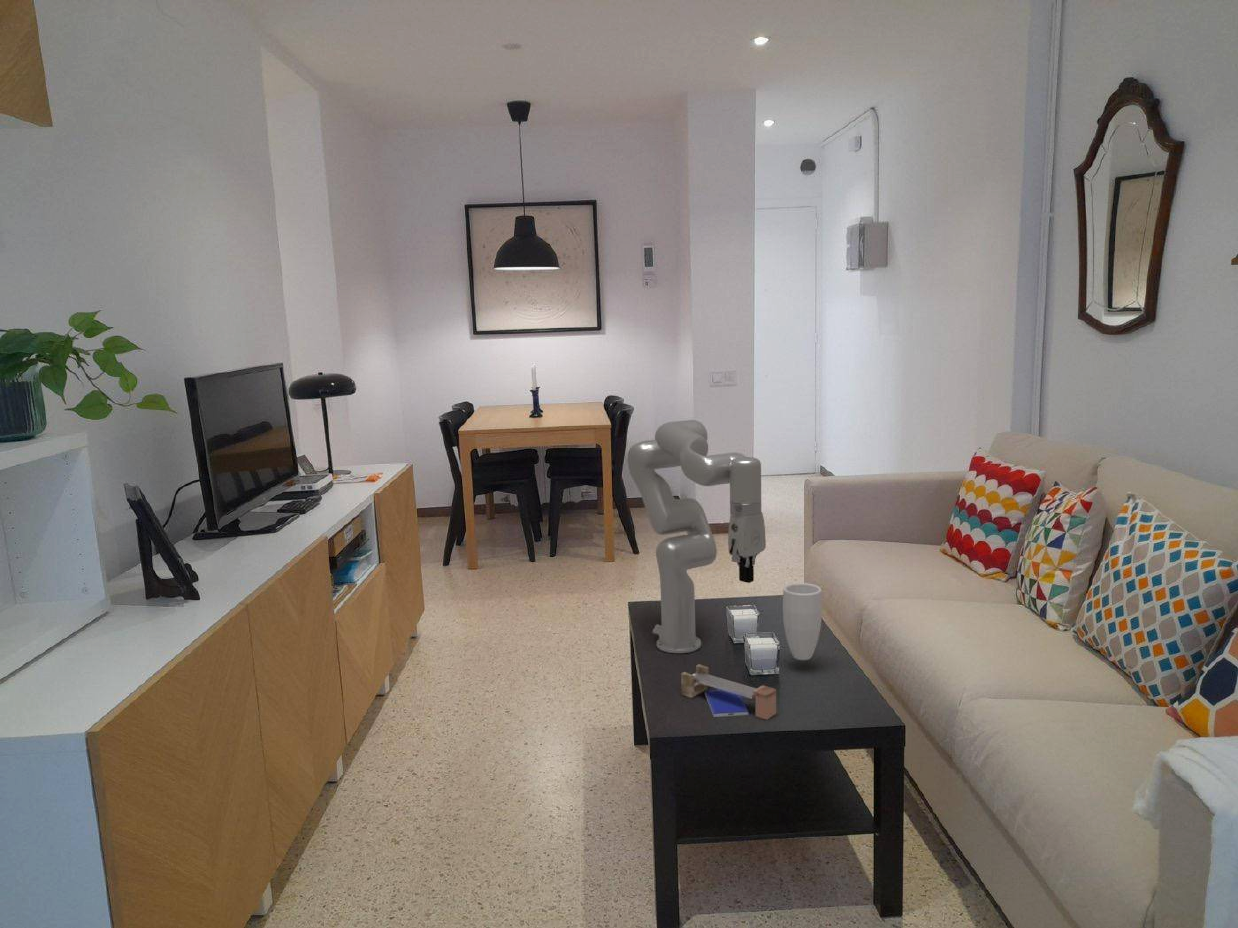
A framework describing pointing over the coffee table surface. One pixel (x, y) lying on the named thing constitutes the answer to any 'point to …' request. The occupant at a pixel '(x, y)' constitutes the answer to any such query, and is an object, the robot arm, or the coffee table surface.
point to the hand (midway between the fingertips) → (746, 581)
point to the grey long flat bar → (724, 684)
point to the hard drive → (725, 703)
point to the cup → (802, 618)
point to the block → (765, 702)
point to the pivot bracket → (688, 682)
